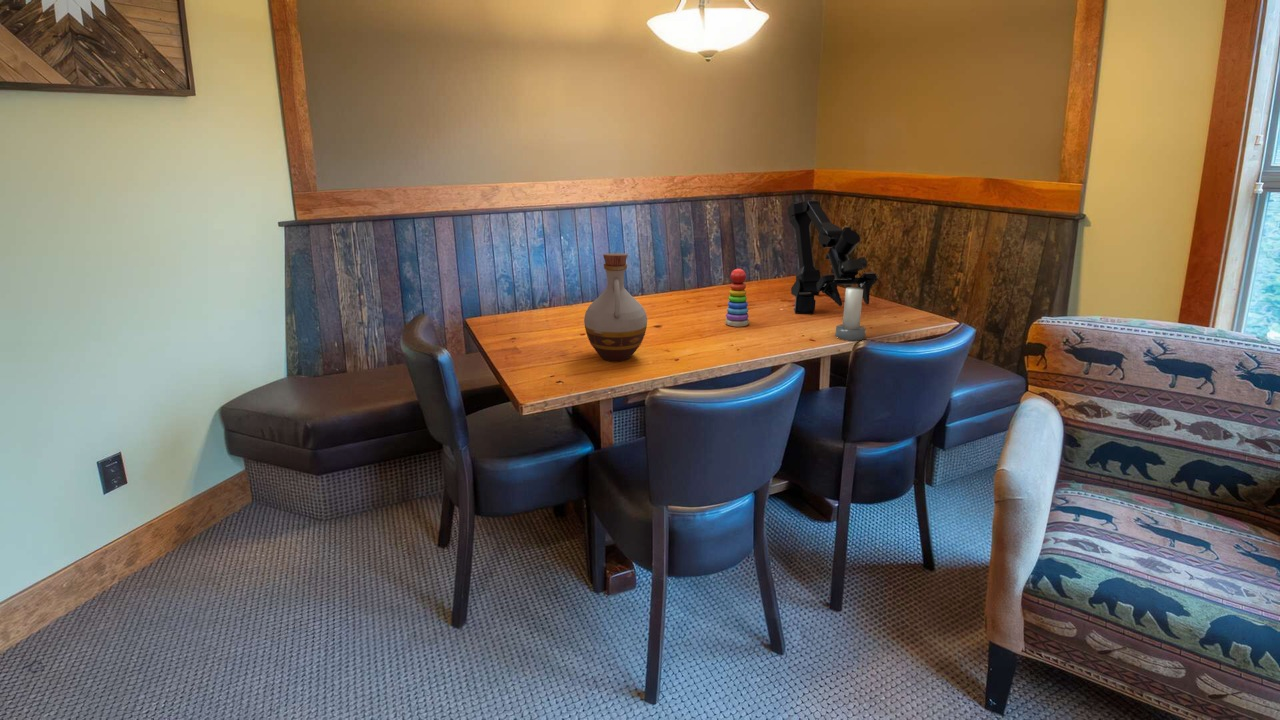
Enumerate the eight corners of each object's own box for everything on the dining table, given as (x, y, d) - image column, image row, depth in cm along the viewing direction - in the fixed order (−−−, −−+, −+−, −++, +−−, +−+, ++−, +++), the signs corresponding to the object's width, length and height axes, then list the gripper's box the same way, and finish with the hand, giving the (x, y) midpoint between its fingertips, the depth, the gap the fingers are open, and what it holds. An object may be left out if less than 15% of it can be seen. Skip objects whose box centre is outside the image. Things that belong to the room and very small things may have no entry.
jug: (650, 368, 198) (651, 260, 189) (585, 370, 197) (583, 260, 188) (644, 347, 217) (644, 247, 208) (584, 348, 216) (582, 248, 206)
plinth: (837, 340, 225) (838, 331, 224) (833, 332, 234) (834, 323, 233) (867, 341, 224) (868, 332, 223) (862, 333, 233) (862, 324, 232)
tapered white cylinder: (847, 330, 225) (851, 291, 221) (839, 326, 230) (842, 287, 226) (862, 329, 226) (866, 290, 223) (853, 325, 231) (857, 286, 227)
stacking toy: (751, 322, 245) (753, 267, 240) (746, 328, 238) (749, 272, 232) (728, 320, 248) (730, 266, 242) (722, 326, 241) (725, 270, 235)
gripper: (823, 249, 223) (837, 292, 216) (878, 247, 227) (893, 289, 220) (810, 269, 232) (823, 311, 226) (862, 267, 236) (876, 308, 230)
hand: (854, 304), depth 225 cm, fingers open, 9 cm apart
